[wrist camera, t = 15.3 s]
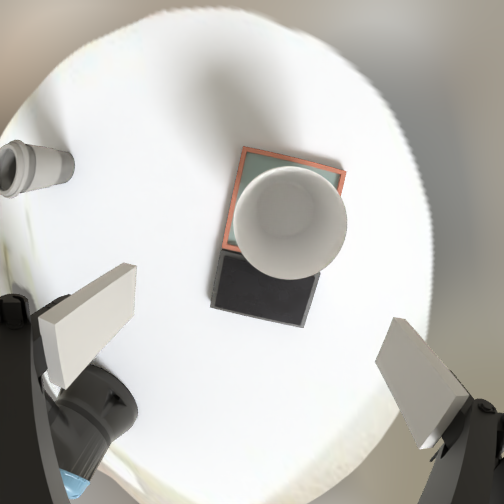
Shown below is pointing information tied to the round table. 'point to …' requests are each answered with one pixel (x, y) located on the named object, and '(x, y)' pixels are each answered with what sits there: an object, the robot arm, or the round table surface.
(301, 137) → the round table surface
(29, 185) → the cup
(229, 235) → the print frame
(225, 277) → the ink pad
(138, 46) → the round table surface
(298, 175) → the cup
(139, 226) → the round table surface
